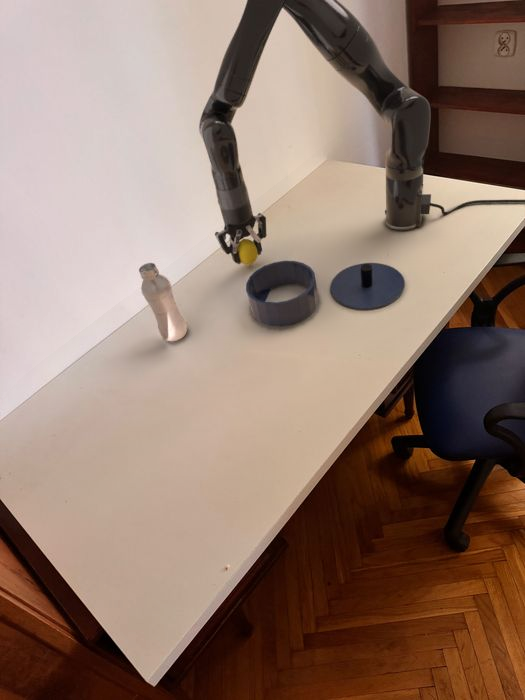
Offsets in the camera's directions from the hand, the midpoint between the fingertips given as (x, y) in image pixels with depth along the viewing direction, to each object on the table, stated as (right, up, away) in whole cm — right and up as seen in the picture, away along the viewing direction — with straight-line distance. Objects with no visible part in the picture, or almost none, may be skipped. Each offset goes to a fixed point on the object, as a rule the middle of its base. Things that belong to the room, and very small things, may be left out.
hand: (248, 257), depth 127 cm
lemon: (0, -2, +2) cm, 2 cm away
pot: (+9, -14, -12) cm, 21 cm away
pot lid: (+29, -9, -14) cm, 33 cm away
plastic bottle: (-17, -21, -12) cm, 30 cm away
